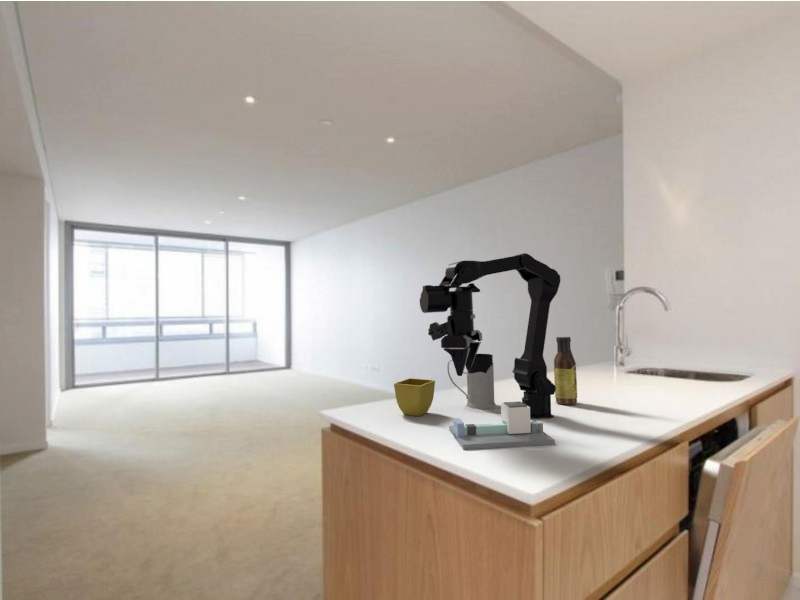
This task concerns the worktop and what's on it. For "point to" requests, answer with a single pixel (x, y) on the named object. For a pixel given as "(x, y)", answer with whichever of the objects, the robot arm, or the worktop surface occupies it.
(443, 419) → the worktop surface
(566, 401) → the sauce bottle
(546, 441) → the comb board
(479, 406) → the glass holder
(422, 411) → the flower pot
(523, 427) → the sleeve
